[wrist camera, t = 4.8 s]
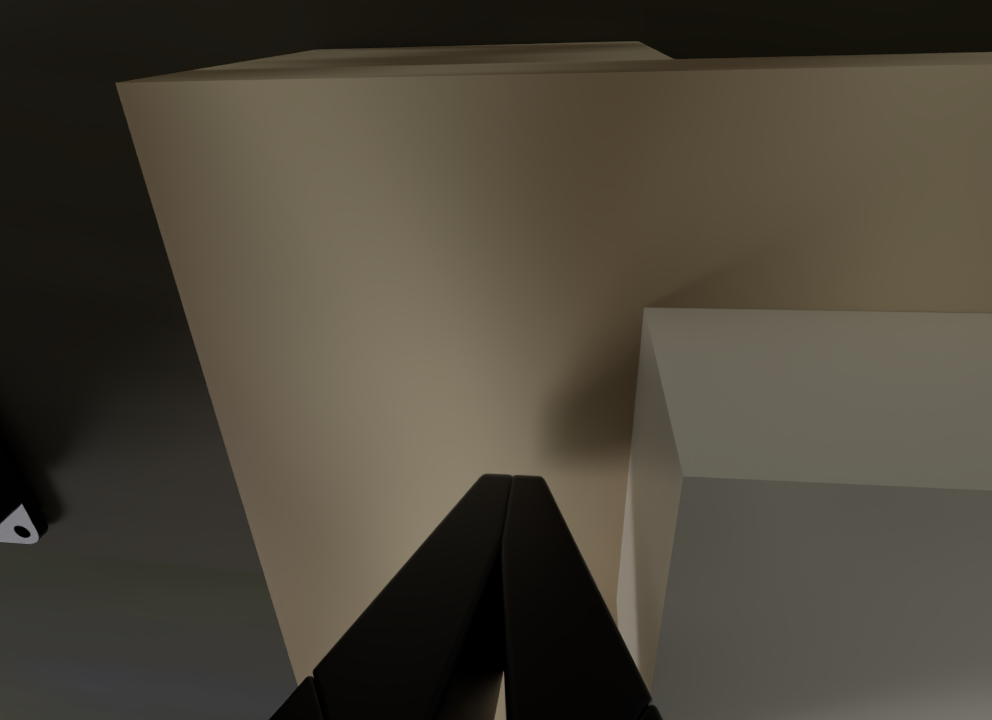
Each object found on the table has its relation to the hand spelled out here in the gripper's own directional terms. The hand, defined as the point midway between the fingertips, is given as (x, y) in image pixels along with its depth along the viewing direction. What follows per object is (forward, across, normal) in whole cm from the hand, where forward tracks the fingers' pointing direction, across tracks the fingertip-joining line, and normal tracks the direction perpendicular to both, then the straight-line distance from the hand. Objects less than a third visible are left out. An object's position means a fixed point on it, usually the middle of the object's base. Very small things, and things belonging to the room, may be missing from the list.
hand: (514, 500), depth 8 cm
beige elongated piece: (+7, -1, +5) cm, 8 cm away
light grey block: (+1, -4, 0) cm, 4 cm away
